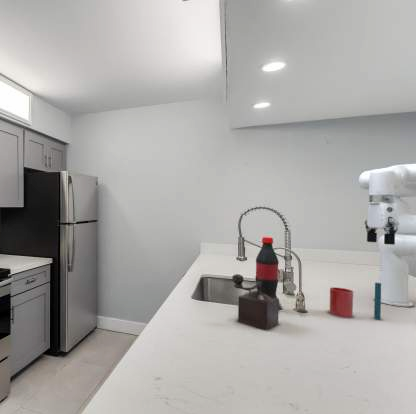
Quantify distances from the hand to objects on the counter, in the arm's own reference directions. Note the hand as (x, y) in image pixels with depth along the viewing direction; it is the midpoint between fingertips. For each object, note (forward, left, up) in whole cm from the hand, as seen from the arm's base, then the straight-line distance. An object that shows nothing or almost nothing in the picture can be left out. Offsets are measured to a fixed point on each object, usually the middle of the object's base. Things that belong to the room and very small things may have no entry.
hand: (380, 243), depth 125 cm
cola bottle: (+28, -31, -29) cm, 51 cm away
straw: (+4, 0, -29) cm, 30 cm away
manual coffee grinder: (+51, -25, -29) cm, 64 cm away
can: (+10, -10, -29) cm, 32 cm away
